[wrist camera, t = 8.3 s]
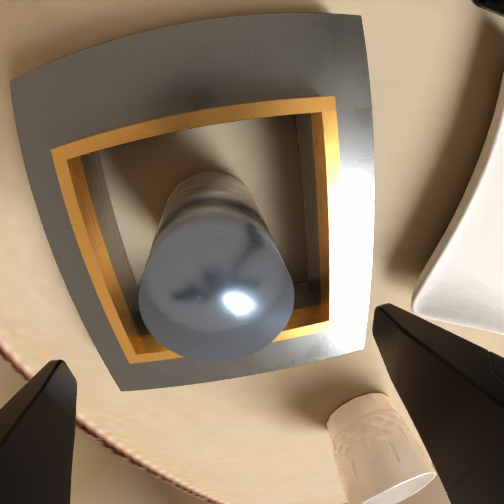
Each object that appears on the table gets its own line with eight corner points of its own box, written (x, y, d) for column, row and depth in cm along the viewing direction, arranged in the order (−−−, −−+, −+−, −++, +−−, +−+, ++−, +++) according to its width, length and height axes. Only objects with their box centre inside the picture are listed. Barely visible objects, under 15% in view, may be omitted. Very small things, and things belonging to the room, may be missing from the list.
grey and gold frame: (339, 25, 13) (376, 9, 9) (349, 325, 22) (372, 364, 18) (33, 81, 12) (-8, 81, 8) (126, 365, 21) (118, 408, 17)
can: (249, 163, 16) (288, 219, 9) (261, 248, 18) (297, 347, 11) (155, 180, 16) (117, 250, 8) (175, 263, 18) (163, 370, 11)
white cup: (376, 428, 30) (409, 499, 21) (311, 439, 29) (337, 522, 20) (406, 382, 27) (452, 461, 18) (334, 393, 25) (373, 491, 16)
